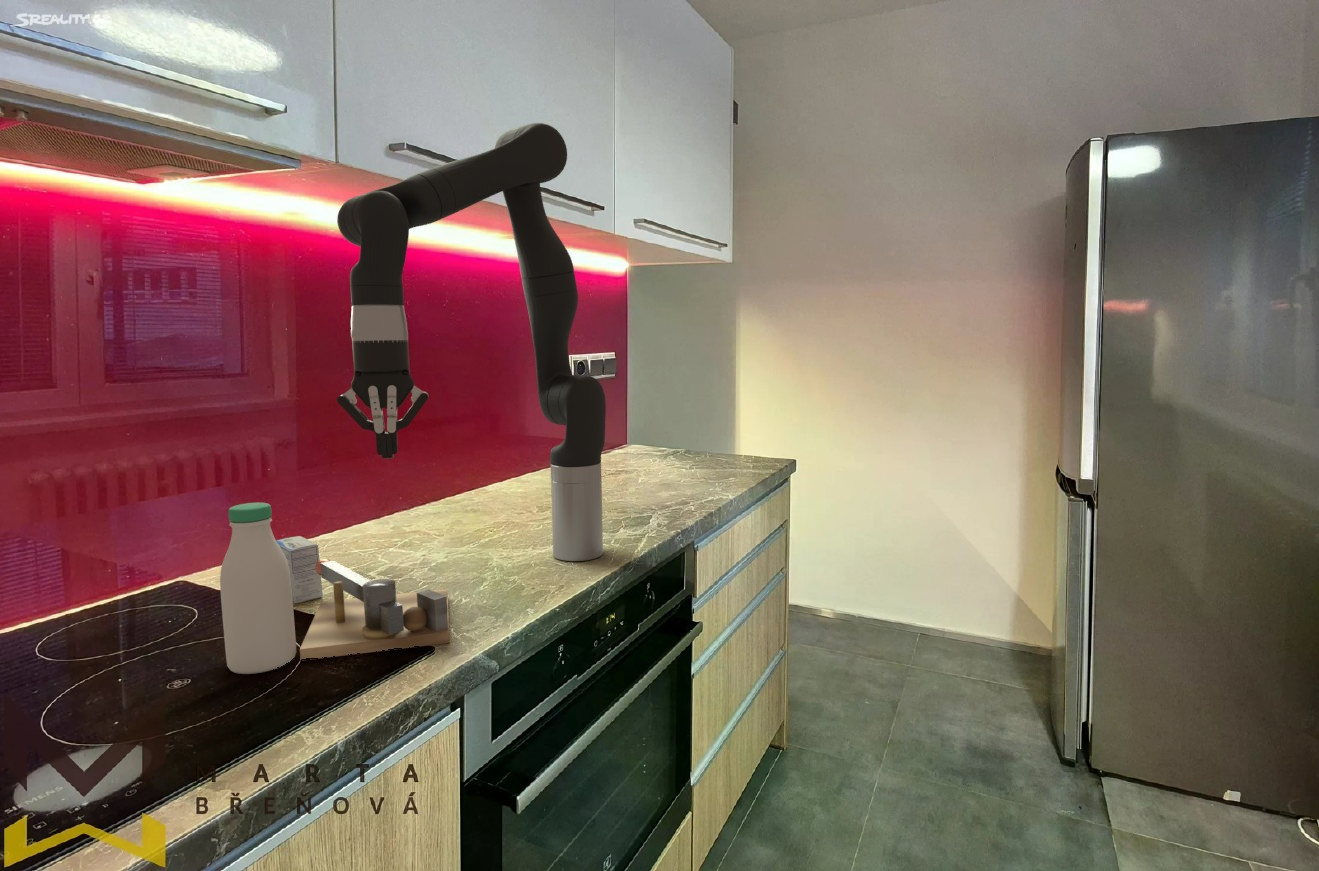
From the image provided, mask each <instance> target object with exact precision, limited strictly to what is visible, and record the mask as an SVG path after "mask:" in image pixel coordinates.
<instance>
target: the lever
mask: <svg viewBox="0 0 1319 871" xmlns="http://www.w3.org/2000/svg"><path fill="white" fill-rule="evenodd" d="M315 570H316V572H317V574H319V575H320V576H321V579H324V580H325V581H327V582H329V583H330V584H332V585H333V583H334V582H338V581H342V582H343V592H345V593H347V594H349V595H350V596H352V597H353V598H357V599H359V600H361V601H362V602H364V612H365V626H366V627H367V628H369V629H381V630H382V631H384V632H385V633H387V634H389V635H390V634H393V633H396V632H400V631H403V630H404V623H403V606H402V604H400V603H398V602H396V594H397V590H396V589H397V588H396V581H395V580H394V579H391V578H390V579H389V578H380V579H374V580H371V579H368V578H367V577H364V576H363V575H361V574H359V573H357V572H356V571H354V570H352V569H349V568H348V567H346V566H344V565H343V564H341V563H339V562H337V561H335V560H331V559H329V558H322V559H320V561H318V562H317V564H316V566H315Z"/></svg>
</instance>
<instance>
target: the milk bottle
mask: <svg viewBox="0 0 1319 871" xmlns="http://www.w3.org/2000/svg"><path fill="white" fill-rule="evenodd" d="M272 513H273V512H272V505H271V504H269V503H268V502H267V503H266V502H247V503H240V504H236V505H234V506H231V507H229V508H228V514H227V515H228V520H229V524H228V526H230V527H231V538H230V542H229V545H228V548H227V550H226V554H225V556H224V558H223V559H222V560H223V561H222V564H221V567H220V568H221V569H220V574H219V575H220V576H219V585H220V586H219V587H220V601H221V602H220V603H221V612H222V613H221V614H222V615H221V616H222V626H223V628H222V629H223V637H224V650H225V659H226V665H227V666H226V667H228V669H229V671H230V672H233V673H235V674H239V675H240V674H242V675H251V674H259V673H260V674H261V673H265V672H270V671H273V669H274V670H276V669H278V668H277V667H279V668H281V666H282V667H283V665H284V666H286V665H287V664H286V663H288V662H289V663H291V662H292V661H293V660H294V659H295V657H296V654H297V641H296V629H295V628H296V627H295V615H294V602H293V600H292V589H291V579H290V571H289V566H288V562H287V559H286V557H285V555H284V553H283V551H282V549H281V548H280V546H279V545H278V543H277V539H276V537H275V536H274V533H273V531H272V528H271V527H272V526H271V522H272V521H273V519H272ZM293 658H294V659H293ZM292 659H293V660H292ZM291 660H292V661H291ZM290 661H291V662H290ZM289 663H288V664H289ZM285 664H286V665H285Z"/></svg>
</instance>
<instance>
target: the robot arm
mask: <svg viewBox="0 0 1319 871" xmlns="http://www.w3.org/2000/svg"><path fill="white" fill-rule="evenodd" d="M567 160H568V149H567V144H566V142H565V140H564V138H563V136H562V134H561V133H560V132H559V130H558V129H556V128H555V127H554V126H553V125H552V126H551V125H549V124H547V123H543V122H534V123H528V124H524V125H522V126H518V127H516V128H512V129H509V130H507V131H504V132H503V133H501V134H500V135H499V136H498V138H497V139H496V141H495V145H494V148H492V149H490V150H486V151H485V152H481V153H478V154H475V155H471V156H468V157H467V156H466V157H464V158H460V159H457V160H453V161H450V162H447V163H443V164H440V165H437V166H434V167H432V168H429V169H426V170H424V171H421V172H419V173H416V174H413V175H411V176H408V177H406V178H405V179H403V180H401V181H399V182H397V183H395V184H392V185H389V186H384V187H381V188H378V189H375V190H372V191H369V192H366V193H362V194H359V195H356V196H354V197H353V196H352V197H351V198H349V199H348V200H346V201H345V202H344V203H343V204H342V205H341V207H340V209H339V211H338V213H337V218H336V220H337V221H336V222H337V227H338V230H339V232H340V235H342V237H343V238H344V239H345V240H347V242H349V243H350V244H352V245H354V246H357V247H360V250H359V257H358V258H359V259H358V261H357V263H355V265H353V267H352V268H351V270H350V274H349V285H350V287H349V288H350V290H349V291H350V301H351V302H350V303H351V304H350V305H351V317H350V328H351V329H350V337H351V343H352V344H351V346H352V360H353V361H352V362H353V374H354V375H353V378H352V381H351V383H350V388H349V389H348V390H347V391H346V392H344V393H343V394H341V395H339V396H337V399H336V402H337V404H339V406H340V407H342V409H343V410H344V411H345V412H346V413H347V414H348V415H349V416H350V417H351V418H352V420H354V421H355V422H356V423H357V424H358V426H359V427H360V428H361V429H363V430H365V431H366V430H367V431H370V432H373V433H374V434H375V443H376V452H377V455H378V456H381V459H382V460H386V459H393V458H394V455H397V453H398V452H399V451H398V450H399V446H398V432H399V431H401V430H402V429H405V428H408V427H409V425H410V424H411V423H412V421H413V420H414V419H415V417H416V416H417V414H419V412H420V410H421V409H422V407H424V405H425V404H426V403H427V401H428V400H429V393H428V392H427V391H424V390H422V389H420V388H419V387H417V386H416V385H415V381H414V379H413V377H412V375H411V369H410V368H411V367H410V353H409V351H410V349H409V332H408V321H407V316H406V311H405V299H404V298H405V297H404V283H403V272H404V268H405V263H406V258H407V251H408V244H409V235H410V230H411V229H413V228H417V227H423V226H427V225H431V224H432V223H433V224H434V223H437V222H438V221H441V220H442V219H445V218H447V217H450V216H453V215H454V214H457V213H458V212H461V211H462V210H466V209H467V208H468V207H472V206H474V205H475V204H477V203H479V202H482V201H484V200H486V199H488V198H490V197H492V196H495V195H497V194H500V193H502V195H503V199H504V203H505V205H506V208H507V211H508V212H507V213H508V215H509V221H510V225H511V229H512V235H513V238H514V239H513V240H514V245H515V249H516V255H517V259H518V265H519V272H520V278H521V284H522V289H523V295H524V300H525V303H526V307H527V312H528V313H527V314H528V317H529V324H530V332H531V337H532V338H531V339H532V343H533V350H534V359H535V370H536V371H535V372H536V382H537V385H536V386H537V395H538V400H539V401H538V402H539V407H540V409H541V413H542V414H543V416H544V417H545V419H546V420H547V421H548V422H550V423H552V424H555V425H557V426H558V425H559V426H560V425H561V426H565V436H564V439H563V441H562V442H560V443H559V444H557V445H556V446H554V447H552V448H551V449H550V454H549V463H550V485H551V486H550V487H551V488H550V489H551V492H550V493H551V495H550V496H551V520H552V521H551V525H552V527H551V528H552V530H551V531H552V556H553V557H554V558H555V559H557V560H561V561H568V562H584V561H590V560H593V559H597V558H599V557H602V556H603V555H604V554H603V553H604V543H603V542H604V539H603V538H604V536H603V535H604V534H603V533H604V532H603V530H604V529H603V492H602V491H603V486H602V484H603V483H602V482H603V481H602V453H603V450H604V447H605V444H606V421H607V420H606V419H607V418H606V415H607V414H606V413H607V409H606V408H607V402H606V395H605V391H604V388H603V386H602V383H601V382H600V381H599V380H598V379H597V378H595V377H593V376H590V375H585V374H584V375H583V374H581V375H580V374H577V375H576V374H573V372H572V368H571V363H570V356H569V339H570V334H571V330H572V326H573V325H574V324H573V323H574V320H575V317H576V313H577V310H578V304H579V294H578V293H579V292H578V287H577V281H576V275H575V274H576V273H575V268H574V264H573V260H572V257H571V255H570V253H569V252H568V249H567V248H566V246H565V244H564V243H563V241H562V239H560V236H559V235H558V233H556V231H555V230H554V228H553V226H552V224H551V223H550V221H549V218H548V216H547V213H546V211H545V207H544V206H545V205H544V201H543V196H542V190H541V184H544V183H547V182H550V181H552V180H555V179H556V178H557V177H558V176H559V175H560V174H561V173H562V172H563V171H564V169H565V168H566V164H567ZM410 393H411V397H410V401H411V402H412V405H411V406H410V408H409V409H408V410H407V412H406V413H405V414H404V415H403V417H402V418H401V419H399V420H398V408H400V407H401V406H403V403H404V402H405V400H406V399H407V398H408V396H409V394H410ZM356 395H357V397H358V398H359V399H360V400H361V402H362V403H363V404H364V405H365V406H366V407H367V408H369V409H371V415H372V416H371V417H372V420H371V419H369V418H368V417H367V416H366V415H365V413H364V412H362V410H361V409H360V408H359V407H358V406H357V405H356V404H357V402H358V399H357V398H356ZM383 409H386V417H387V418H386V419H387V420H386V421H387V422H386V427H385V421H384V411H383ZM386 429H387V430H386Z"/></svg>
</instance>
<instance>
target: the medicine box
mask: <svg viewBox="0 0 1319 871" xmlns="http://www.w3.org/2000/svg"><path fill="white" fill-rule="evenodd" d="M276 541H277V543H278V545H279V546H280V548H281V549H282V551H283V553H284V555H285V557H286V559H287V562H288V566H289V571H290V579H291V589H292V600H293V604H299V603H305V602H308V601H312V600H317V599H321V598H322V597H323V596H324V593H323V585H322V584H323V583H322V576H320V575H319V574H317V572H316V570H315V566H316V564H317V562H318V561H320V560H321V558H320V549H319V544H317V542H316V543H315V542H313V541H312V540H309V539H307V538H305V537H303V536H301V535H298V536H290V537H284V538H282V539H276Z"/></svg>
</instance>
